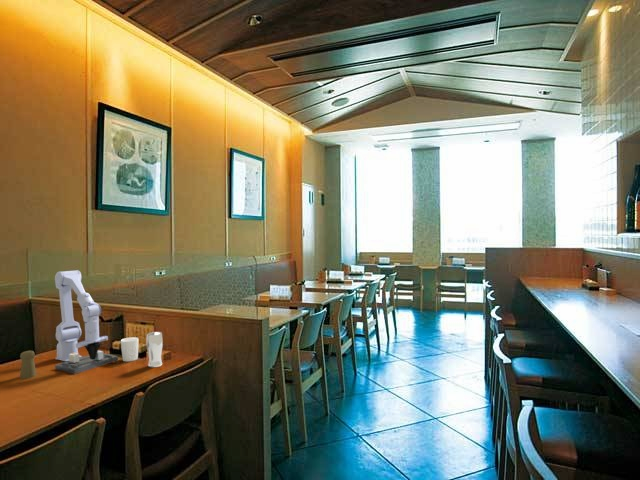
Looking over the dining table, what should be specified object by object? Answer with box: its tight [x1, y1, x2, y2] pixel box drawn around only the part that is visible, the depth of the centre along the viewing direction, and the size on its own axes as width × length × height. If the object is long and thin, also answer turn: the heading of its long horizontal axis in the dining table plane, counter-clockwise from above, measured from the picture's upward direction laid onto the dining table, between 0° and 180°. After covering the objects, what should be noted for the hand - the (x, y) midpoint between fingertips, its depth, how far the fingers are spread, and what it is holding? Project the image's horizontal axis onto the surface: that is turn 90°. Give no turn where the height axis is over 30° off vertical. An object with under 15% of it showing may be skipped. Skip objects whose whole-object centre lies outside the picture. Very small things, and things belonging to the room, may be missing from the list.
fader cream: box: [69, 352, 80, 363], centre depth 188 cm, size 4×2×4 cm, turn 62°
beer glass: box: [146, 331, 164, 368], centre depth 187 cm, size 7×7×15 cm
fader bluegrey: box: [96, 350, 104, 360], centre depth 191 cm, size 4×2×4 cm, turn 62°
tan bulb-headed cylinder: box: [19, 350, 37, 380], centre depth 176 cm, size 6×6×11 cm
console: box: [54, 352, 119, 375], centre depth 190 cm, size 15×21×3 cm
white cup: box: [120, 336, 139, 362], centre depth 197 cm, size 8×8×10 cm
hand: (92, 359), depth 189 cm, fingers closed
